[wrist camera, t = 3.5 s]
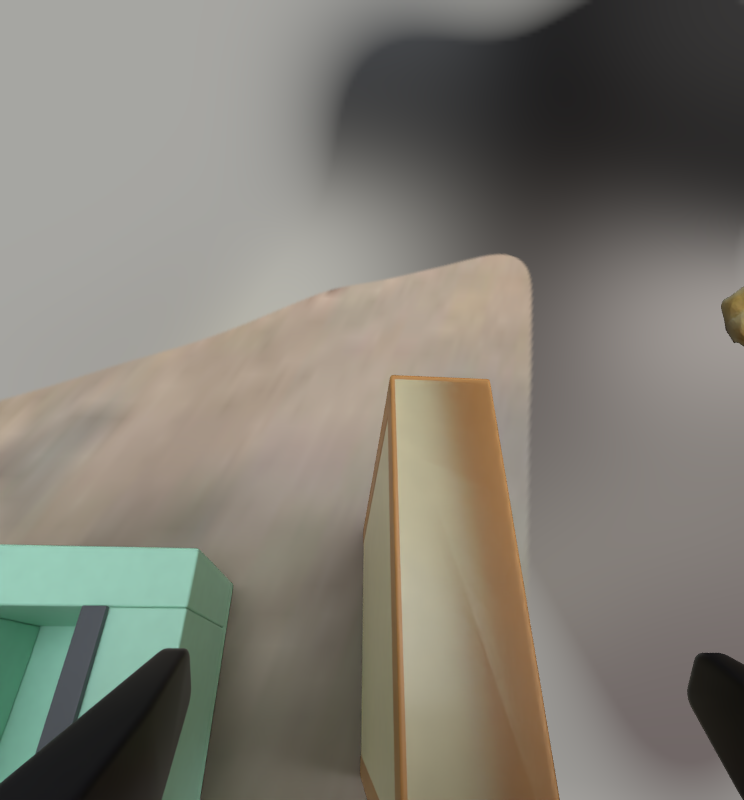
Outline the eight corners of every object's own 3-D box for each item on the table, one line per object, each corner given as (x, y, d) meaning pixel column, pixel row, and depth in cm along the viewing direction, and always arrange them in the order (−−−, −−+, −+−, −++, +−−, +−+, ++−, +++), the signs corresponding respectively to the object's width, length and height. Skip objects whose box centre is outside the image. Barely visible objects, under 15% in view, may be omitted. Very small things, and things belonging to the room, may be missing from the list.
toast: (426, 777, 14) (582, 927, 5) (360, 778, 14) (403, 931, 5) (414, 530, 18) (490, 378, 9) (363, 529, 18) (390, 374, 9)
